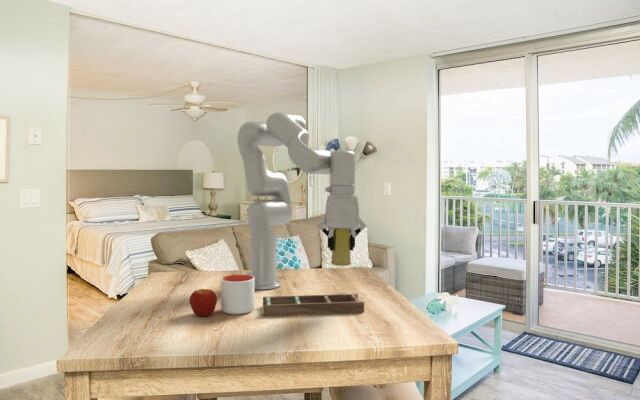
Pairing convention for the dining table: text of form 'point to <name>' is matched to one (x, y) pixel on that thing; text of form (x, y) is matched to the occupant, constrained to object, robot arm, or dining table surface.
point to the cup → (237, 294)
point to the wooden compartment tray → (312, 304)
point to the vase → (341, 247)
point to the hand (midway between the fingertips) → (341, 249)
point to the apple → (203, 302)
